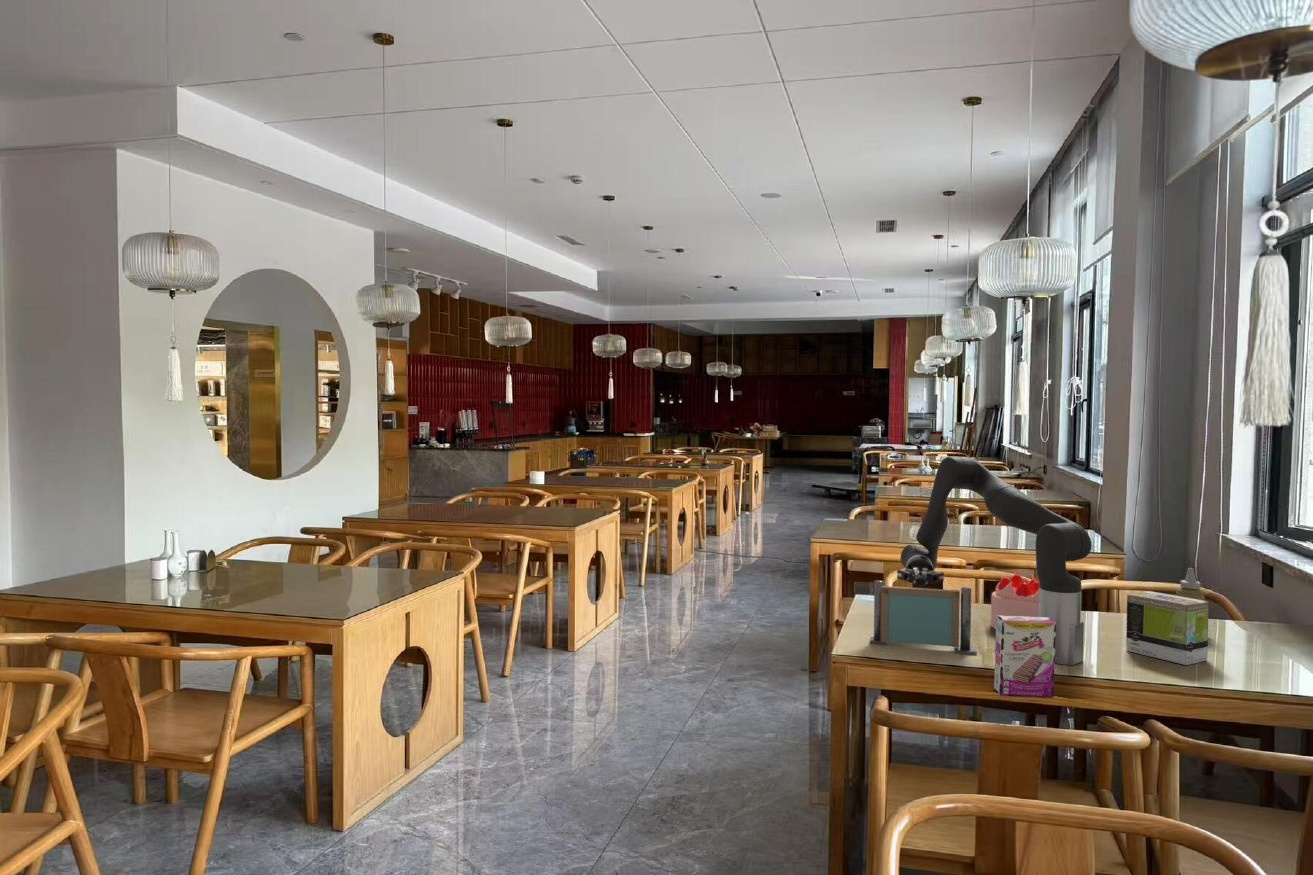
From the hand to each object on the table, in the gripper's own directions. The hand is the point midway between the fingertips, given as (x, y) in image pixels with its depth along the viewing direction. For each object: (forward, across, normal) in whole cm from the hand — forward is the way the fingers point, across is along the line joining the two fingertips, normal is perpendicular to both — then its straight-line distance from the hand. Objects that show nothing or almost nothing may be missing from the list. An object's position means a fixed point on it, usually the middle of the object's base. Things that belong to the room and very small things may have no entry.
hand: (920, 581), depth 228 cm
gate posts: (+9, 0, +15) cm, 18 cm away
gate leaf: (+10, 0, +14) cm, 17 cm away
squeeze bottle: (-25, +71, +15) cm, 77 cm away
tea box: (0, +58, +15) cm, 60 cm away
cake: (-18, +30, +15) cm, 38 cm away
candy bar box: (+42, +21, +14) cm, 49 cm away
